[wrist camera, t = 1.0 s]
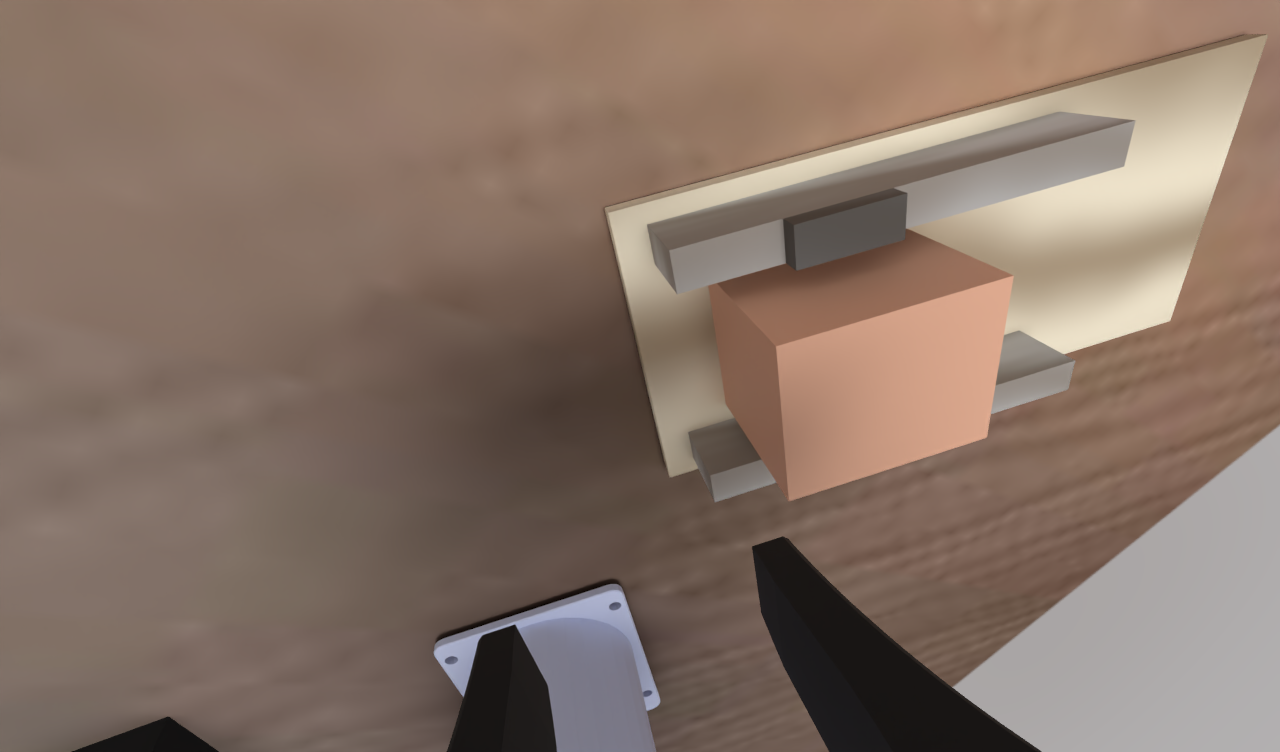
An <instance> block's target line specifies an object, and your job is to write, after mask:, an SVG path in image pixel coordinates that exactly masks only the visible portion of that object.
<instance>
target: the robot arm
mask: <svg viewBox="0 0 1280 752" xmlns="http://www.w3.org/2000/svg"><path fill="white" fill-rule="evenodd" d="M752 550H753V557H754V564H755V571H756V578H757V585H758V592H759V599H760V607H761V613H762V616H763V618H764V620H765V623H766V625H767V628H768V630H769V633H770V635H771V637H772V640H773V642H774V645H775V647H776V649H777V652H778V654H779V656H780V659H781V661H782V663H783V666H784V668H785V670H786V672H787V673H788V675H789V677H790V679H791V681H792V683H793V685H794V687H795V689H796V690H797V692H798V694H799V696H800V698H801V700H802V702H803V703H804V705H805V707H806V709H807V711H808V713H809V715H810V717H811V718H812V720H813V722H814V724H815V726H816V728H817V730H818V731H819V733H820V735H821V737H822V739H823V741H824V743H825V744H826V746H827V748H828V750H829V752H1041V751H1040V750H1039V749H1037V748H1036V747H1034V746H1033V745H1031V744H1030V743H1028V742H1027V741H1025V740H1024V739H1023V738H1021V737H1020V736H1018V735H1017V734H1015V733H1014V732H1012V731H1011V730H1010V729H1008V728H1007V727H1005V726H1004V725H1002V724H1001V723H999V722H998V721H997V720H995V719H994V718H992V717H991V716H990V715H988V714H987V713H986V712H984V711H983V710H982V709H980V708H979V707H977V706H976V705H975V704H973V703H972V702H971V701H969V700H968V699H966V698H965V697H964V696H963V695H961V694H960V693H959V692H957V691H956V690H955V689H953V688H952V687H951V686H949V685H948V684H947V683H946V682H944V681H943V680H942V679H940V678H939V677H938V676H937V675H935V674H934V673H933V672H932V671H930V670H929V669H928V668H927V667H925V666H924V665H923V664H922V663H920V662H919V661H918V660H917V659H915V658H914V657H913V656H912V655H911V654H909V653H908V652H907V651H906V650H904V649H903V648H902V647H901V646H900V645H899V644H897V643H896V642H895V641H894V640H893V639H891V638H890V637H889V636H888V635H887V634H886V633H885V632H883V631H882V630H881V629H880V628H879V627H878V626H877V625H876V624H874V623H873V622H872V621H871V620H870V619H869V618H868V617H867V616H865V615H864V614H863V613H862V612H861V611H860V610H859V609H858V608H856V607H855V606H854V605H853V604H852V603H851V602H850V601H849V600H848V599H847V598H846V597H845V596H843V595H842V594H841V593H840V592H839V591H838V590H837V589H836V588H835V587H834V586H833V585H832V584H831V583H830V582H829V581H828V580H827V579H826V578H825V577H824V576H823V575H822V574H821V573H820V572H819V571H818V570H817V569H816V568H815V567H814V566H813V565H812V564H811V563H810V562H809V561H808V560H807V559H806V558H805V557H804V556H803V555H802V553H801V552H800V551H799V550H798V549H797V548H796V547H795V546H794V545H793V544H792V543H791V541H790V540H789V539H787V538H785V537H780V538H777V539H774V540H771V541H768V542H765V543H762V544H759V545H755V546H752ZM613 602H614V603H613ZM434 656H435V658H436V659H437V661H438V662H439V663H440V665H441V666H442V668H443V669H444V670H445V672H446V673H447V675H448V676H449V678H450V679H451V680H452V682H453V683H454V685H455V686H456V688H457V689H458V690H459V692H460V693H461V695H462V696H463V701H462V705H461V708H460V711H459V715H458V718H457V722H456V725H455V728H454V731H453V735H452V738H451V741H450V744H449V747H448V750H447V752H656V749H655V744H654V740H653V736H652V731H651V727H650V723H649V718H648V714H647V711H648V710H651V709H653V708H655V707H657V706H658V705H659V703H660V697H659V693H658V690H657V688H656V685H655V682H654V679H653V676H652V673H651V670H650V667H649V664H648V661H647V659H646V656H645V653H644V650H643V647H642V644H641V641H640V638H639V635H638V633H637V630H636V627H635V624H634V621H633V618H632V615H631V612H630V609H629V606H628V604H627V601H626V598H625V595H624V592H623V589H622V587H621V586H620V585H618V584H608V585H605V586H602V587H599V588H596V589H593V590H590V591H587V592H584V593H581V594H578V595H575V596H572V597H569V598H566V599H562V600H559V601H556V602H553V603H550V604H547V605H544V606H541V607H538V608H535V609H532V610H529V611H526V612H523V613H520V614H517V615H514V616H510V617H507V618H504V619H501V620H498V621H495V622H492V623H489V624H486V625H483V626H480V627H477V628H474V629H471V630H468V631H465V632H462V633H458V634H455V635H452V636H449V637H446V638H443V639H441V640H439V641H438V642H437V643H436V644H435V647H434Z"/></svg>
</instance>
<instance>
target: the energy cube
mask: <svg viewBox="0 0 1280 752" xmlns="http://www.w3.org/2000/svg"><path fill="white" fill-rule="evenodd" d="M72 752H219V751H217V750H216V749H214V748H213V747H211V746H210V745H209V744H207V743H206V742H204V741H203V740H201V739H200V738H199V737H197V736H196V735H194V734H193V733H191V732H190V731H188V730H187V729H186V728H184V727H183V726H181V725H180V724H178V723H177V722H176V721H174V720H173V719H171V718H170V717H166V718H163V719H160V720H158V721H155V722H152V723H149V724H147V725H144V726H141V727H138V728H136V729H133V730H130V731H127V732H125V733H122V734H119V735H116V736H114V737H111V738H108V739H105V740H103V741H100V742H97V743H94V744H92V745H89V746H86V747H83V748H81V749H78V750H75V751H72Z"/></svg>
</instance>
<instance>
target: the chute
mask: <svg viewBox="0 0 1280 752" xmlns="http://www.w3.org/2000/svg"><path fill="white" fill-rule="evenodd" d="M1267 37H1268V34H1251V35H1243V36H1239V37H1235V38H1232V39H1228V40H1224V41H1221V42H1217V43H1213V44H1209V45H1206V46H1202V47H1198V48H1195V49H1191V50H1187V51H1184V52H1180V53H1176V54H1172V55H1169V56H1165V57H1161V58H1158V59H1154V60H1150V61H1146V62H1143V63H1139V64H1135V65H1132V66H1128V67H1124V68H1120V69H1117V70H1113V71H1109V72H1106V73H1102V74H1098V75H1095V76H1091V77H1087V78H1083V79H1080V80H1076V81H1072V82H1069V83H1065V84H1061V85H1057V86H1054V87H1050V88H1046V89H1043V90H1039V91H1035V92H1031V93H1028V94H1024V95H1020V96H1017V97H1013V98H1009V99H1006V100H1002V101H998V102H994V103H991V104H987V105H983V106H980V107H976V108H972V109H968V110H965V111H961V112H957V113H954V114H950V115H946V116H942V117H939V118H935V119H931V120H928V121H924V122H920V123H917V124H913V125H909V126H905V127H902V128H898V129H894V130H891V131H887V132H883V133H879V134H876V135H872V136H868V137H865V138H861V139H857V140H854V141H850V142H846V143H842V144H839V145H835V146H831V147H828V148H824V149H820V150H816V151H813V152H809V153H805V154H802V155H798V156H794V157H790V158H787V159H783V160H779V161H776V162H772V163H768V164H765V165H761V166H757V167H753V168H750V169H746V170H742V171H739V172H735V173H731V174H727V175H724V176H720V177H716V178H713V179H709V180H705V181H701V182H698V183H694V184H690V185H687V186H683V187H679V188H676V189H672V190H668V191H664V192H661V193H657V194H653V195H650V196H646V197H642V198H638V199H635V200H631V201H627V202H624V203H620V204H616V205H612V206H609V207H605V213H606V217H607V221H608V225H609V230H610V234H611V238H612V242H613V247H614V251H615V255H616V259H617V263H618V268H619V272H620V276H621V280H622V285H623V289H624V293H625V297H626V301H627V306H628V310H629V314H630V318H631V323H632V327H633V331H634V335H635V340H636V344H637V348H638V352H639V356H640V361H641V365H642V369H643V373H644V378H645V382H646V386H647V390H648V395H649V399H650V403H651V407H652V411H653V416H654V420H655V424H656V428H657V433H658V437H659V441H660V445H661V449H662V454H663V458H664V462H665V466H666V469H667V472H668V474H669V477H674V476H677V475H680V474H683V473H686V472H690V471H693V470H696V469H699V471H700V473H701V475H702V477H703V479H704V481H705V483H706V485H707V487H708V489H709V491H710V493H711V495H712V497H713V499H714V501H715V502H717V501H721V500H724V499H727V498H730V497H733V496H736V495H739V494H742V493H746V492H749V491H752V490H755V489H758V488H761V487H764V486H767V485H771V484H774V483H777V482H776V481H775V479H774V478H773V476H772V475H771V473H770V472H769V470H768V468H767V467H766V465H765V464H764V462H763V461H762V459H761V458H760V456H759V455H758V453H757V451H756V450H755V448H754V447H753V445H752V444H751V442H750V441H749V439H748V438H747V436H746V435H745V433H744V431H743V430H742V428H741V427H740V425H739V424H738V422H737V421H736V419H735V418H734V416H733V414H732V413H731V411H730V410H729V408H728V407H727V405H726V402H725V395H724V388H723V382H722V375H721V368H720V361H719V355H718V348H717V341H716V334H715V327H714V321H713V314H712V307H711V300H710V294H709V287H708V285H712V284H715V283H719V282H722V281H726V280H729V279H733V278H736V277H740V276H743V275H747V274H750V273H754V272H757V271H761V270H764V269H768V268H771V267H775V266H778V265H782V264H785V263H786V264H788V265H789V266H790V267H792V268H793V269H794V270H796V271H798V270H801V269H805V268H808V267H812V266H815V265H819V264H822V263H826V262H829V261H833V260H836V259H840V258H843V257H847V256H850V255H853V254H857V253H860V252H864V251H867V250H871V249H874V248H878V247H881V246H885V245H888V244H892V243H895V242H899V241H902V240H905V233H906V229H909V230H912V231H914V232H916V233H919V234H921V235H923V236H925V237H928V238H930V239H932V240H934V241H937V242H939V243H941V244H943V245H946V246H948V247H950V248H953V249H955V250H957V251H959V252H962V253H964V254H966V255H968V256H971V257H973V258H975V259H977V260H980V261H982V262H984V263H987V264H989V265H991V266H993V267H996V268H998V269H1000V270H1002V271H1005V272H1007V273H1009V274H1011V275H1014V278H1013V284H1012V290H1011V296H1010V302H1009V308H1008V314H1007V320H1006V325H1005V331H1004V337H1003V343H1002V349H1001V355H1000V361H999V367H998V373H997V379H996V385H995V391H994V397H993V403H992V409H991V414H993V413H996V412H999V411H1002V410H1005V409H1008V408H1012V407H1015V406H1018V405H1021V404H1024V403H1027V402H1030V401H1033V400H1037V399H1040V398H1043V397H1046V396H1049V395H1052V394H1055V393H1058V392H1062V391H1065V390H1068V387H1069V383H1070V379H1071V375H1072V371H1073V367H1074V363H1075V360H1073V359H1071V358H1070V357H1068V356H1066V355H1064V354H1066V353H1069V352H1072V351H1075V350H1079V349H1082V348H1085V347H1088V346H1091V345H1095V344H1098V343H1101V342H1104V341H1107V340H1111V339H1114V338H1117V337H1120V336H1123V335H1126V334H1130V333H1133V332H1136V331H1139V330H1142V329H1146V328H1149V327H1152V326H1155V325H1158V324H1162V323H1165V322H1168V321H1170V319H1171V316H1172V314H1173V311H1174V308H1175V305H1176V302H1177V299H1178V296H1179V293H1180V290H1181V287H1182V284H1183V281H1184V279H1185V276H1186V273H1187V270H1188V267H1189V264H1190V261H1191V258H1192V255H1193V252H1194V249H1195V246H1196V244H1197V241H1198V238H1199V235H1200V232H1201V229H1202V226H1203V223H1204V220H1205V217H1206V214H1207V211H1208V209H1209V206H1210V203H1211V200H1212V197H1213V194H1214V191H1215V188H1216V185H1217V182H1218V179H1219V177H1220V174H1221V171H1222V168H1223V165H1224V162H1225V159H1226V156H1227V153H1228V150H1229V147H1230V144H1231V142H1232V139H1233V136H1234V133H1235V130H1236V127H1237V124H1238V121H1239V118H1240V115H1241V112H1242V109H1243V107H1244V104H1245V101H1246V98H1247V95H1248V92H1249V89H1250V86H1251V83H1252V80H1253V77H1254V75H1255V72H1256V69H1257V66H1258V63H1259V60H1260V57H1261V54H1262V51H1263V48H1264V45H1265V42H1266V40H1267Z"/></svg>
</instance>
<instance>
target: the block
mask: <svg viewBox="0 0 1280 752" xmlns="http://www.w3.org/2000/svg"><path fill="white" fill-rule="evenodd" d="M1013 278H1014V275H1011V274H1009V273H1007V272H1005V271H1002V270H1000V269H998V268H996V267H993V266H991V265H989V264H987V263H984V262H982V261H980V260H977V259H975V258H973V257H971V256H968V255H966V254H964V253H962V252H959V251H957V250H955V249H953V248H950V247H948V246H946V245H943V244H941V243H939V242H937V241H934V240H932V239H930V238H928V237H925V236H923V235H921V234H919V233H916V232H914V231H912V230H909V229H906V233H905V240H902V241H899V242H895V243H892V244H888V245H885V246H881V247H878V248H874V249H871V250H867V251H864V252H860V253H857V254H853V255H850V256H847V257H843V258H840V259H836V260H833V261H829V262H826V263H822V264H819V265H815V266H812V267H808V268H805V269H801V270H798V271H796V270H794V269H793V268H792V267H790V266H789V265H788V264H786V263H785V264H782V265H778V266H775V267H771V268H768V269H764V270H761V271H757V272H754V273H750V274H747V275H743V276H740V277H736V278H733V279H729V280H726V281H722V282H719V283H715V284H712V285H708V287H709V294H710V300H711V307H712V314H713V321H714V327H715V334H716V341H717V348H718V355H719V361H720V368H721V375H722V382H723V388H724V395H725V402H726V405H727V407H728V408H729V410H730V411H731V413H732V414H733V416H734V418H735V419H736V421H737V422H738V424H739V425H740V427H741V428H742V430H743V431H744V433H745V435H746V436H747V438H748V439H749V441H750V442H751V444H752V445H753V447H754V448H755V450H756V451H757V453H758V455H759V456H760V458H761V459H762V461H763V462H764V464H765V465H766V467H767V468H768V470H769V472H770V473H771V475H772V476H773V478H774V479H775V481H776V482H777V484H778V485H779V487H780V488H781V490H782V492H783V493H784V495H785V496H786V498H787V499H788V501H792V500H795V499H798V498H801V497H804V496H807V495H811V494H814V493H817V492H820V491H823V490H826V489H829V488H832V487H835V486H838V485H842V484H845V483H848V482H851V481H854V480H857V479H860V478H863V477H866V476H869V475H872V474H876V473H879V472H882V471H885V470H888V469H891V468H894V467H897V466H900V465H903V464H906V463H910V462H913V461H916V460H919V459H922V458H925V457H928V456H931V455H934V454H937V453H941V452H944V451H947V450H950V449H953V448H956V447H959V446H962V445H965V444H968V443H971V442H975V441H978V440H981V439H984V438H987V433H988V427H989V421H990V415H991V409H992V403H993V397H994V391H995V385H996V379H997V373H998V367H999V361H1000V355H1001V349H1002V343H1003V337H1004V331H1005V325H1006V320H1007V314H1008V308H1009V302H1010V296H1011V290H1012V284H1013Z"/></svg>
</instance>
